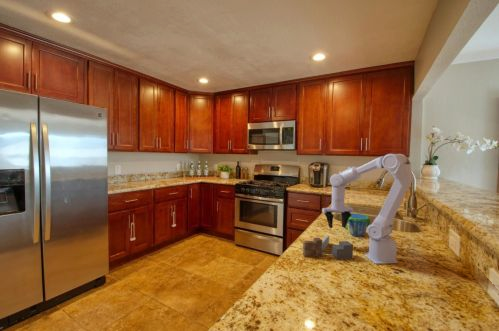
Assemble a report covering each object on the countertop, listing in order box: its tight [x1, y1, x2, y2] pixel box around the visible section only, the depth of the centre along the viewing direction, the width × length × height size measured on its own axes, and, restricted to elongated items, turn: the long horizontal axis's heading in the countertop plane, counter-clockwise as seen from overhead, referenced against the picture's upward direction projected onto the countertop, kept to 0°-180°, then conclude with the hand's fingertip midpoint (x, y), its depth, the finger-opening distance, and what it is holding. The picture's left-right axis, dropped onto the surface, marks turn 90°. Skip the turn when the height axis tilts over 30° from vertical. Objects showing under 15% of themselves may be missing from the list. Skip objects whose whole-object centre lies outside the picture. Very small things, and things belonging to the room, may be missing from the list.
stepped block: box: [331, 240, 354, 260], centre depth 95 cm, size 7×4×6 cm, turn 96°
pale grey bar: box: [321, 234, 330, 252], centre depth 104 cm, size 12×2×4 cm, turn 146°
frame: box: [302, 237, 332, 258], centre depth 97 cm, size 21×4×7 cm, turn 96°
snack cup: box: [344, 212, 372, 237], centre depth 121 cm, size 16×10×10 cm
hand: (337, 227), depth 107 cm, fingers open, 6 cm apart
